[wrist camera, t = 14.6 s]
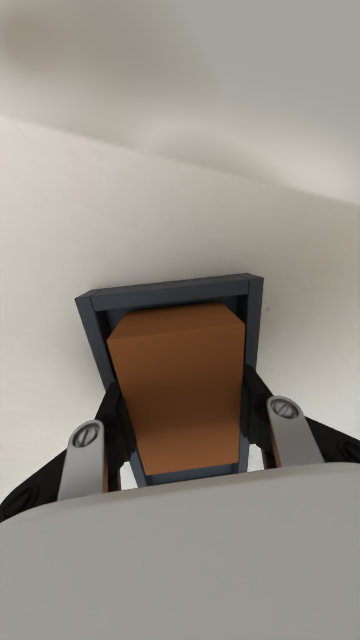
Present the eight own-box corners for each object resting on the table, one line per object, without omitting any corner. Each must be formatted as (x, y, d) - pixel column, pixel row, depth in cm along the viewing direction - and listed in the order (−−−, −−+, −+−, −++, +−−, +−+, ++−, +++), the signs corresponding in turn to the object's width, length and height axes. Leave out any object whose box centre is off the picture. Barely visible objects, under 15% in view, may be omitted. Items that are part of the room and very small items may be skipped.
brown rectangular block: (151, 420, 13) (145, 476, 10) (126, 311, 10) (105, 340, 7) (221, 411, 13) (238, 463, 10) (220, 300, 10) (246, 324, 7)
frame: (147, 483, 18) (145, 510, 16) (90, 290, 10) (73, 298, 8) (237, 470, 18) (245, 495, 16) (247, 273, 11) (264, 277, 9)
